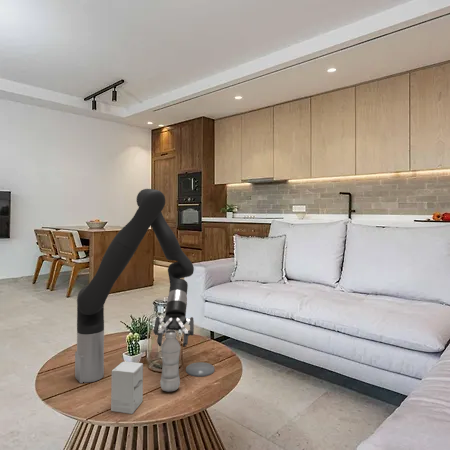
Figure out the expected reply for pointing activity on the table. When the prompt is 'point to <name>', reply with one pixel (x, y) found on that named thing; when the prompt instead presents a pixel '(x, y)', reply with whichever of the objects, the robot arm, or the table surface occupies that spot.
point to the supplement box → (127, 387)
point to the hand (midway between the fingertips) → (172, 345)
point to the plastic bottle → (170, 362)
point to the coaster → (200, 369)
